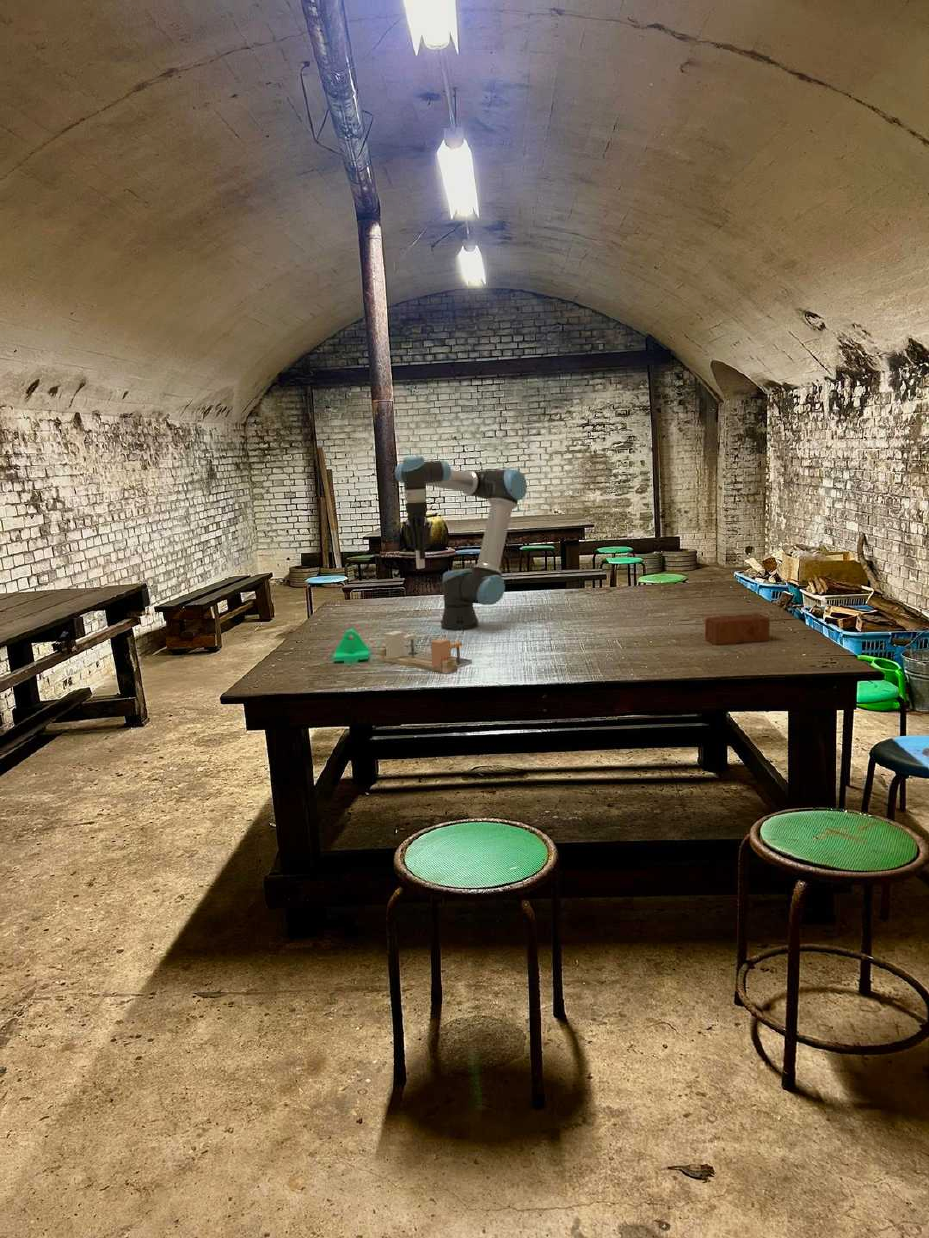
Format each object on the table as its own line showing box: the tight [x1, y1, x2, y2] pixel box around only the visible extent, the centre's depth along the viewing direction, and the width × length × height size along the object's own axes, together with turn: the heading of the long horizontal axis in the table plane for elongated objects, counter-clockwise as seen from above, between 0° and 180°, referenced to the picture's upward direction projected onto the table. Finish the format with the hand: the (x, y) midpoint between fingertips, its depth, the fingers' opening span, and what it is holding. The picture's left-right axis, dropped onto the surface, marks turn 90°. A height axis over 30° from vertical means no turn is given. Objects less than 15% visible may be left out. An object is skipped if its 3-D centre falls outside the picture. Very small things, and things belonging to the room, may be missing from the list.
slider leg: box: [430, 637, 463, 668], centre depth 250 cm, size 12×4×8 cm, turn 138°
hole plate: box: [404, 649, 473, 669], centre depth 262 cm, size 8×28×1 cm, turn 48°
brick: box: [704, 612, 771, 646], centre depth 266 cm, size 20×8×8 cm, turn 97°
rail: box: [378, 647, 458, 675], centre depth 256 cm, size 5×32×4 cm, turn 48°
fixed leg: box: [384, 630, 417, 659], centre depth 264 cm, size 12×4×8 cm, turn 138°
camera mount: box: [332, 629, 371, 664], centre depth 267 cm, size 12×8×10 cm, turn 93°
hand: (420, 568), depth 275 cm, fingers closed
